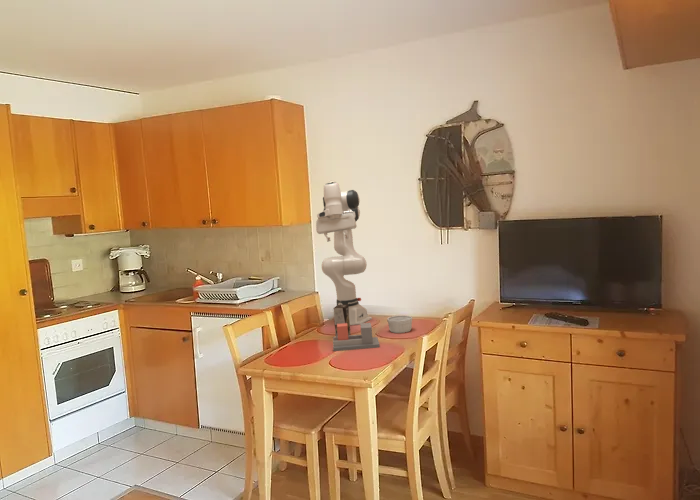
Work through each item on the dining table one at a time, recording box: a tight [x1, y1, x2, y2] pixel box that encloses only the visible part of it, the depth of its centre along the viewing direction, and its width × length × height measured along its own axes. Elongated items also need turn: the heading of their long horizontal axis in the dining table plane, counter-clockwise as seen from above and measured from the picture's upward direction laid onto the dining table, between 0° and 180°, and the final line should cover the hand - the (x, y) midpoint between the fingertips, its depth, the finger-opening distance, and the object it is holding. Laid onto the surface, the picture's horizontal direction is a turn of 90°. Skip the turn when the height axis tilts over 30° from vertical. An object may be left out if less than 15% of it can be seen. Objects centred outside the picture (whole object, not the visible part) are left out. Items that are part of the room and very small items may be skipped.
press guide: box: [332, 322, 381, 352], centre depth 269 cm, size 22×14×10 cm, turn 91°
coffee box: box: [333, 304, 351, 337], centre depth 289 cm, size 9×6×16 cm
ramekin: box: [387, 314, 413, 334], centre depth 292 cm, size 13×13×7 cm
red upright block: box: [337, 323, 348, 341], centre depth 269 cm, size 5×6×9 cm
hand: (337, 239), depth 277 cm, fingers open, 8 cm apart
